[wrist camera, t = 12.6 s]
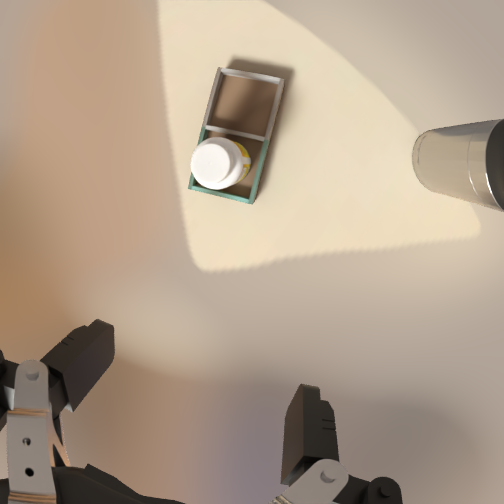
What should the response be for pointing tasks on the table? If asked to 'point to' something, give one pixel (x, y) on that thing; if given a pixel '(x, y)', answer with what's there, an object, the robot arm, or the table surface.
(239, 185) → the divided sorting tray
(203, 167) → the supplement bottle
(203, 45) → the table surface
